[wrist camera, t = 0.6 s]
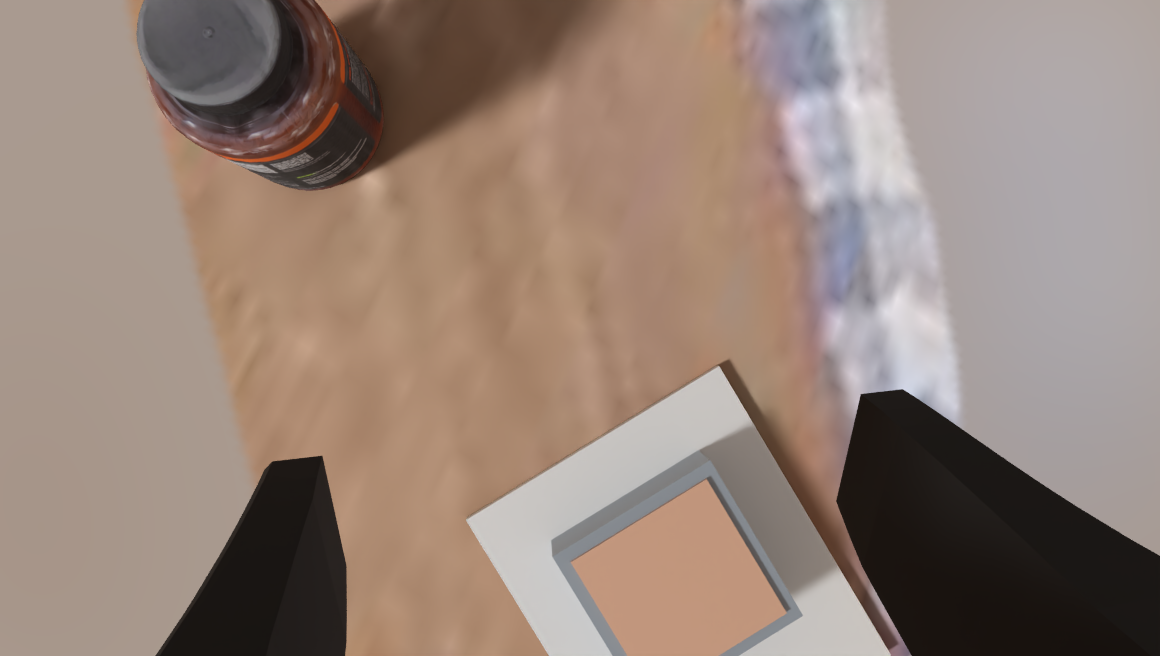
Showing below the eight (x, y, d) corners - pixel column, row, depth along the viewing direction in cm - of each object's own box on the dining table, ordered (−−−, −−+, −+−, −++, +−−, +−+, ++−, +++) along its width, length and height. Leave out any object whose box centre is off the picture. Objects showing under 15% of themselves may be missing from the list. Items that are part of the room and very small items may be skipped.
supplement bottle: (302, 15, 36) (196, -124, 25) (417, 112, 36) (363, 20, 25) (205, 127, 36) (53, 41, 24) (321, 224, 36) (223, 183, 25)
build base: (886, 650, 37) (919, 681, 34) (642, 803, 37) (652, 850, 34) (716, 365, 37) (733, 370, 34) (466, 517, 36) (460, 536, 33)
